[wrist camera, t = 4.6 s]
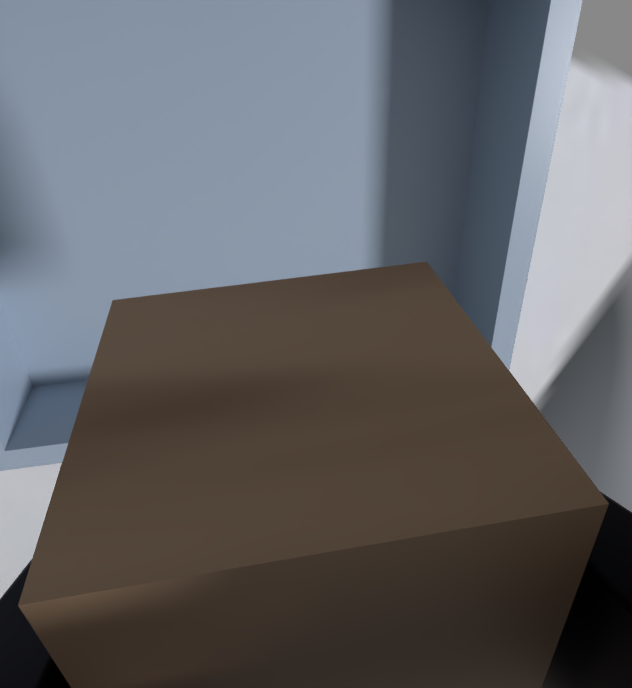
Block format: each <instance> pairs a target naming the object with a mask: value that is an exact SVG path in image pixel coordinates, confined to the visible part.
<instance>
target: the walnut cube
mask: <svg viewBox="0 0 632 688" xmlns="http://www.w3.org/2000/svg"><path fill="white" fill-rule="evenodd" d="M608 505H609V503H608V502H607V500H606V499H605V498H604V496H603V495H602V494H601V492H600V491H599V490H598V489H597V487H596V486H595V485H594V483H593V482H592V480H591V479H590V478H589V477H588V475H587V474H586V473H585V471H584V470H583V469H582V467H581V466H580V465H579V463H578V462H577V461H576V459H575V458H574V457H573V455H572V454H571V453H570V451H569V450H568V449H567V447H566V446H565V445H564V443H563V442H562V441H561V439H560V438H559V437H558V435H557V434H556V433H555V431H554V430H553V429H552V427H551V426H550V425H549V423H548V422H547V421H546V419H545V418H544V417H543V415H542V414H541V413H540V411H539V410H538V409H537V407H536V406H535V405H534V403H533V402H532V401H531V399H530V398H529V397H528V395H527V394H526V393H525V391H524V390H523V389H522V387H521V386H520V385H519V383H518V382H517V381H516V379H515V378H514V377H513V375H512V374H511V373H510V371H509V370H508V369H507V367H506V366H505V365H504V363H503V362H502V361H501V359H500V358H499V357H498V355H497V354H496V353H495V352H494V350H493V349H492V348H491V346H490V345H489V344H488V342H487V341H486V340H485V338H484V337H483V336H482V334H481V333H480V332H479V330H478V329H477V328H476V326H475V325H474V324H473V322H472V321H471V320H470V318H469V317H468V316H467V314H466V313H465V312H464V310H463V309H462V308H461V306H460V305H459V304H458V302H457V301H456V300H455V298H454V297H453V296H452V294H451V293H450V292H449V290H448V289H447V288H446V286H445V285H444V284H443V282H442V281H441V280H440V278H439V277H438V276H437V274H436V273H435V272H434V270H433V269H432V268H431V266H430V265H429V264H428V262H419V263H411V264H403V265H395V266H387V267H379V268H370V269H362V270H354V271H346V272H338V273H330V274H321V275H313V276H305V277H297V278H289V279H281V280H272V281H264V282H256V283H248V284H240V285H232V286H223V287H215V288H207V289H199V290H191V291H183V292H174V293H166V294H158V295H150V296H142V297H134V298H125V299H117V300H112V304H111V307H110V310H109V313H108V317H107V320H106V323H105V326H104V329H103V333H102V336H101V339H100V342H99V346H98V349H97V352H96V355H95V359H94V362H93V365H92V368H91V371H90V375H89V378H88V381H87V384H86V388H85V391H84V394H83V397H82V400H81V404H80V407H79V410H78V413H77V417H76V420H75V423H74V426H73V430H72V433H71V436H70V439H69V442H68V446H67V449H66V452H65V455H64V459H63V462H62V465H61V468H60V471H59V475H58V478H57V481H56V484H55V488H54V491H53V494H52V497H51V501H50V504H49V507H48V510H47V513H46V517H45V520H44V523H43V526H42V530H41V533H40V536H39V539H38V543H37V546H36V549H35V552H34V555H33V559H32V562H31V565H30V568H29V572H28V575H27V578H26V581H25V584H24V588H23V591H22V594H21V597H20V601H19V604H18V606H19V608H20V609H21V611H22V612H23V614H24V616H25V617H26V619H27V620H28V622H29V623H30V625H31V626H32V628H33V629H34V631H35V633H36V634H37V636H38V637H39V639H40V640H41V642H42V643H43V645H44V646H45V648H46V650H47V651H48V653H49V654H50V656H51V657H52V659H53V660H54V662H55V663H56V665H57V667H58V668H59V670H60V671H61V673H62V674H63V676H64V677H65V679H66V680H67V682H68V684H69V685H70V687H71V688H541V687H542V685H543V682H544V679H545V676H546V674H547V671H548V668H549V666H550V663H551V660H552V657H553V655H554V652H555V649H556V647H557V644H558V641H559V638H560V636H561V633H562V630H563V627H564V625H565V622H566V619H567V617H568V614H569V611H570V608H571V606H572V603H573V600H574V598H575V595H576V592H577V589H578V587H579V584H580V581H581V578H582V576H583V573H584V570H585V568H586V565H587V562H588V559H589V557H590V554H591V551H592V549H593V546H594V543H595V540H596V538H597V535H598V532H599V529H600V527H601V524H602V521H603V519H604V516H605V513H606V510H607V508H608Z"/></svg>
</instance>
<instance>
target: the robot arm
mask: <svg viewBox="0 0 632 688" xmlns="http://www.w3.org/2000/svg"><path fill="white" fill-rule="evenodd" d="M601 494H602V495H603V496H604V498H605V499H606V500H607V502H608V503H609V505H608V508H607V510H606V513H605V516H604V519H603V521H602V524H601V527H600V529H599V532H598V535H597V538H596V540H595V543H594V546H593V549H592V551H591V554H590V557H589V559H588V562H587V565H586V568H585V570H584V573H583V576H582V578H581V581H580V584H579V587H578V589H577V592H576V595H575V598H574V600H573V603H572V606H571V608H570V611H569V614H568V617H567V619H566V622H565V625H564V627H563V630H562V633H561V636H560V638H559V641H558V644H557V647H556V649H555V652H554V655H553V657H552V660H551V663H550V666H549V668H548V671H547V674H546V676H545V679H544V682H543V685H542V687H541V688H632V512H630V511H629V510H627V509H626V508H624V507H623V506H621V505H620V504H618V503H617V502H615V501H614V500H612V499H611V498H609V497H608V496H606V495H605V494H603V493H602V492H601ZM32 559H33V558H32ZM31 562H32V560H31V561H30V562H29V563H28V565H27V566H26V567H25V568H24V570H23V571H22V572H21V573H20V575H19V576H18V577H17V578H16V580H15V581H14V582H13V584H12V585H11V586H10V587H9V589H8V590H7V591H6V592H5V594H4V595H3V596H2V597H1V599H0V688H71V687H70V685H69V684H68V682H67V680H66V679H65V677H64V676H63V674H62V673H61V671H60V670H59V668H58V667H57V665H56V663H55V662H54V660H53V659H52V657H51V656H50V654H49V653H48V651H47V650H46V648H45V646H44V645H43V643H42V642H41V640H40V639H39V637H38V636H37V634H36V633H35V631H34V629H33V628H32V626H31V625H30V623H29V622H28V620H27V619H26V617H25V616H24V614H23V612H22V611H21V609H20V608H19V606H18V604H19V601H20V597H21V594H22V591H23V588H24V584H25V581H26V578H27V575H28V572H29V568H30V565H31Z"/></svg>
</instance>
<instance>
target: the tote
mask: <svg viewBox="0 0 632 688" xmlns="http://www.w3.org/2000/svg"><path fill="white" fill-rule="evenodd" d="M581 5H582V0H0V471H3V470H10V469H18V468H25V467H33V466H40V465H48V464H55V463H62V462H63V459H64V455H65V452H66V449H67V446H68V442H69V439H70V436H71V433H72V430H73V426H74V423H75V420H76V417H77V413H78V410H79V407H80V404H81V400H82V397H83V394H84V391H85V388H86V384H87V381H88V378H89V375H90V371H91V368H92V365H93V362H94V359H95V355H96V352H97V349H98V346H99V342H100V339H101V336H102V333H103V329H104V326H105V323H106V320H107V317H108V313H109V310H110V307H111V304H112V300H117V299H125V298H134V297H142V296H150V295H158V294H166V293H174V292H183V291H191V290H199V289H207V288H215V287H223V286H232V285H240V284H248V283H256V282H264V281H272V280H281V279H289V278H297V277H305V276H313V275H321V274H330V273H338V272H346V271H354V270H362V269H370V268H379V267H387V266H395V265H403V264H411V263H419V262H428V264H429V265H430V266H431V268H432V269H433V270H434V272H435V273H436V274H437V276H438V277H439V278H440V280H441V281H442V282H443V284H444V285H445V286H446V288H447V289H448V290H449V292H450V293H451V294H452V296H453V297H454V298H455V300H456V301H457V302H458V304H459V305H460V306H461V308H462V309H463V310H464V312H465V313H466V314H467V316H468V317H469V318H470V320H471V321H472V322H473V324H474V325H475V326H476V328H477V329H478V330H479V332H480V333H481V334H482V336H483V337H484V338H485V340H486V341H487V342H488V344H489V345H490V346H491V348H492V349H493V350H494V352H495V353H496V354H497V355H498V357H499V358H500V359H501V361H502V362H503V363H504V365H505V366H506V367H507V369H508V370H509V368H510V363H511V358H512V353H513V348H514V343H515V338H516V333H517V328H518V323H519V318H520V312H521V307H522V302H523V297H524V292H525V287H526V282H527V277H528V272H529V267H530V262H531V257H532V252H533V247H534V242H535V237H536V232H537V227H538V222H539V217H540V212H541V207H542V202H543V197H544V192H545V186H546V181H547V176H548V171H549V166H550V161H551V156H552V151H553V146H554V141H555V136H556V131H557V126H558V121H559V116H560V111H561V106H562V101H563V96H564V91H565V86H566V81H567V76H568V71H569V66H570V61H571V55H572V49H573V45H574V40H575V35H576V30H577V25H578V20H579V15H580V10H581Z"/></svg>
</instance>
